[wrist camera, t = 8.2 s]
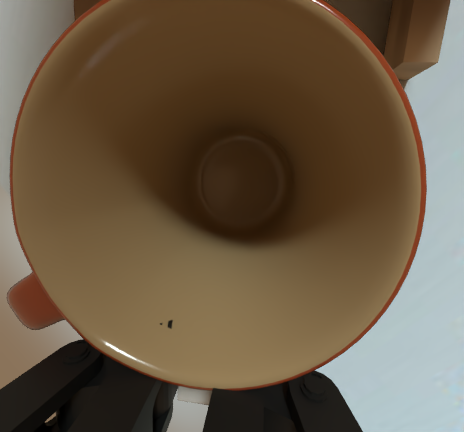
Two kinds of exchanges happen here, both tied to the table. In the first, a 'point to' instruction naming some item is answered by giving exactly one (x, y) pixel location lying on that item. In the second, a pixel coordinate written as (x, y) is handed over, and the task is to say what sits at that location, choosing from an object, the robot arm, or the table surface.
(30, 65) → the table surface
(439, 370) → the table surface
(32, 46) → the table surface
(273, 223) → the mug
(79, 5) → the wooden standing sign
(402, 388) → the table surface
